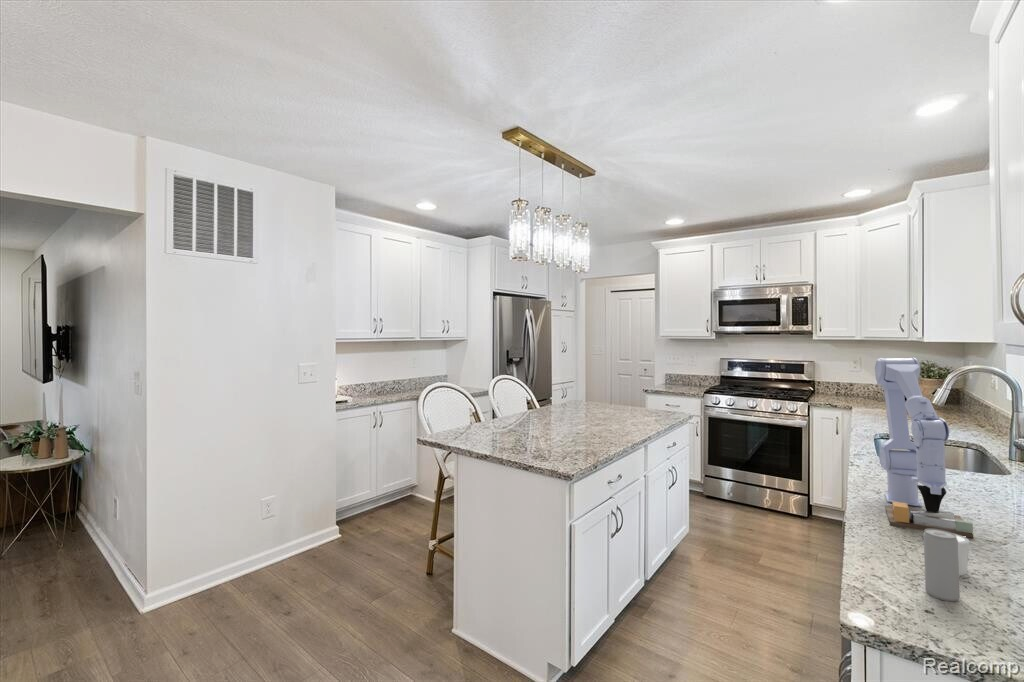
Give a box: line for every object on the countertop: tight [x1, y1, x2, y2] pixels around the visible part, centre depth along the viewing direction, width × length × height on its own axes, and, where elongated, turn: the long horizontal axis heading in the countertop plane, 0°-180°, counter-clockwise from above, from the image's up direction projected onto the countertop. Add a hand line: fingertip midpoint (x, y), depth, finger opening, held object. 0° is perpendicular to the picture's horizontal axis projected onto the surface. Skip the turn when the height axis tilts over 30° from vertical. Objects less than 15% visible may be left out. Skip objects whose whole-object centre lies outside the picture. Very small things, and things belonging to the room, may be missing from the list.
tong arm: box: [909, 510, 955, 520], centre depth 123 cm, size 2×10×2 cm, turn 83°
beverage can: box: [923, 529, 961, 603], centre depth 88 cm, size 5×5×12 cm
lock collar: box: [891, 501, 910, 523], centre depth 123 cm, size 4×3×4 cm
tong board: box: [884, 504, 974, 539], centre depth 124 cm, size 15×16×3 cm
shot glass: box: [953, 533, 971, 576], centre depth 99 cm, size 7×7×7 cm
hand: (932, 513), depth 124 cm, fingers closed, pressing on tong arm
